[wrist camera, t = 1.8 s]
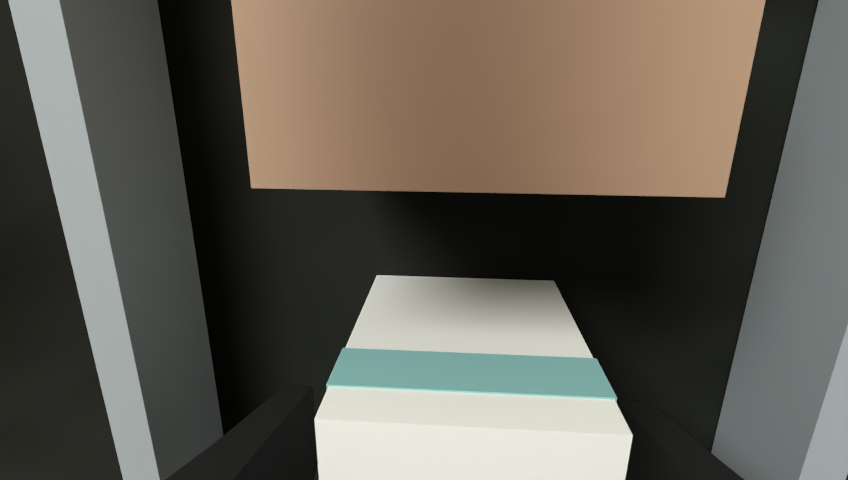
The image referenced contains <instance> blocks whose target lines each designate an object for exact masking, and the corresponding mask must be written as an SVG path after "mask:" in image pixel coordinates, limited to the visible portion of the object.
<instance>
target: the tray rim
mask: <svg viewBox="0 0 848 480" xmlns="http://www.w3.org/2000/svg"><path fill="white" fill-rule="evenodd" d="M9 5H10V9H11V13H12V17H13V21H14V26H15V30H16V34H17V38H18V42H19V46H20V51H21V55H22V59H23V63H24V67H25V71H26V76H27V80H28V84H29V88H30V92H31V97H32V101H33V105H34V109H35V113H36V117H37V122H38V126H39V130H40V134H41V138H42V142H43V147H44V151H45V155H46V159H47V163H48V167H49V172H50V176H51V180H52V184H53V188H54V193H55V197H56V201H57V205H58V209H59V213H60V218H61V222H62V226H63V230H64V234H65V238H66V243H67V247H68V251H69V255H70V259H71V264H72V268H73V272H74V276H75V280H76V284H77V289H78V293H79V297H80V301H81V305H82V309H83V314H84V318H85V322H86V326H87V330H88V335H89V339H90V343H91V347H92V351H93V355H94V360H95V364H96V368H97V372H98V376H99V380H100V385H101V389H102V393H103V397H104V401H105V406H106V410H107V414H108V418H109V422H110V426H111V431H112V435H113V439H114V443H115V447H116V451H117V456H118V460H119V464H120V468H121V472H122V476H123V480H165V479H167V478H168V477H169V476H171V475H172V474H173V473H175V472H176V471H177V470H179V469H180V468H181V467H183V466H184V465H186V464H187V463H188V462H190V461H191V460H192V459H194V458H195V457H196V456H198V455H199V454H200V453H202V452H203V451H204V450H206V449H207V448H208V447H210V446H211V445H212V444H214V443H215V442H216V441H217V440H219V439H220V438H221V437H222V436H223V429H222V422H221V416H220V409H219V403H218V396H217V390H216V383H215V376H214V370H213V363H212V357H211V350H210V343H209V337H208V330H207V324H206V317H205V310H204V304H203V297H202V291H201V284H200V277H199V271H198V264H197V258H196V251H195V245H194V238H193V231H192V225H191V218H190V212H189V205H188V198H187V192H186V185H185V179H184V172H183V165H182V159H181V152H180V146H179V139H178V132H177V126H176V119H175V113H174V106H173V100H172V93H171V86H170V80H169V73H168V67H167V60H166V53H165V47H164V40H163V34H162V27H161V20H160V14H159V7H158V1H157V0H9ZM711 453H712V454H713V455H714V456H716V457H717V458H718V459H719V460H720V461H722V462H723V463H724V464H725V465H727V466H728V467H729V468H730V469H732V470H733V471H734V472H735V473H737V474H738V475H739V476H740V477H742V478H743V479H744V480H845V479H846V477H847V474H848V0H819V1H818V5H817V10H816V14H815V18H814V22H813V26H812V31H811V35H810V39H809V43H808V47H807V52H806V56H805V60H804V64H803V68H802V73H801V77H800V81H799V85H798V89H797V94H796V98H795V102H794V106H793V110H792V115H791V119H790V123H789V127H788V132H787V136H786V140H785V144H784V148H783V153H782V157H781V161H780V165H779V169H778V174H777V178H776V182H775V186H774V190H773V195H772V199H771V203H770V207H769V211H768V216H767V220H766V224H765V228H764V232H763V237H762V241H761V245H760V249H759V254H758V258H757V262H756V266H755V270H754V275H753V279H752V283H751V287H750V291H749V296H748V300H747V304H746V308H745V312H744V317H743V321H742V325H741V329H740V333H739V338H738V342H737V346H736V350H735V354H734V359H733V363H732V367H731V371H730V376H729V380H728V384H727V388H726V392H725V397H724V401H723V405H722V409H721V413H720V418H719V422H718V426H717V430H716V434H715V439H714V443H713V447H712V451H711Z"/></svg>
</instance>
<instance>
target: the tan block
mask: <svg viewBox="0 0 848 480" xmlns="http://www.w3.org/2000/svg"><path fill="white" fill-rule="evenodd" d="M231 4H232V13H233V22H234V32H235V41H236V50H237V60H238V69H239V78H240V87H241V97H242V106H243V115H244V125H245V134H246V143H247V153H248V162H249V171H250V180H251V188H269V189H320V190H370V191H421V192H471V193H522V194H572V195H623V196H673V197H724V198H725V194H726V189H727V185H728V180H729V175H730V170H731V165H732V160H733V156H734V151H735V146H736V141H737V136H738V131H739V126H740V122H741V117H742V112H743V107H744V102H745V97H746V93H747V88H748V83H749V78H750V73H751V68H752V63H753V59H754V54H755V49H756V44H757V39H758V34H759V30H760V25H761V20H762V15H763V10H764V5H765V0H231Z"/></svg>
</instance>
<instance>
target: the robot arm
mask: <svg viewBox="0 0 848 480" xmlns="http://www.w3.org/2000/svg"><path fill="white" fill-rule="evenodd" d="M618 407H619V409H620V411H621V413H622V415H623V417H624V419H625V421H626V423H627V425H628V427H629V429H630V431H631V433H632V435H633V438H632V443H631V449H630V455H629V461H628V466H627V472H626V478H625V480H744V479H743V478H742V477H740V476H739V475H738V474H737V473H735V472H734V471H733V470H732V469H730V468H729V467H728V466H727V465H725V464H724V463H723V462H722V461H720V460H719V459H718V458H717V457H716V456H714V455H713V454H712V453H711V452H709V451H708V450H707V449H706V448H705V447H703V446H702V445H701V444H700V443H699V442H697V441H696V440H695V439H694V438H693V437H691V436H690V435H689V434H688V433H687V432H685V431H684V430H683V429H682V428H681V427H679V426H678V425H677V424H676V423H675V422H673V421H672V420H671V419H670V418H669V417H667V416H666V415H665V414H664V413H662V412H661V411H660V410H659V409H657V408H656V407H655V406H654V405H652V404H651V403H650V402H644V401H622V400H619V402H618ZM314 419H315V416H314V403H313V390H312V386H297V385H285V386H283V387H282V388H281V389H279V390H278V391H277V392H276V393H274V394H273V395H272V396H271V397H270V398H268V399H267V400H266V401H265V402H264V403H262V404H261V405H260V406H259V407H258V408H256V409H255V410H254V411H253V412H252V413H251V414H249V415H248V416H247V417H246V418H245V419H243V420H242V421H241V422H240V423H238V424H237V425H236V426H235V427H233V428H232V429H231V430H230V431H228V432H227V433H226V434H225V435H224V436H222V437H221V438H220V439H219V440H217V441H216V442H215V443H214V444H212V445H211V446H210V447H208V448H207V449H206V450H204V451H203V452H202V453H200V454H199V455H198V456H196V457H195V458H194V459H192V460H191V461H190V462H188V463H187V464H186V465H184V466H183V467H181V468H180V469H179V470H177V471H176V472H175V473H173V474H172V475H171V476H169V477H168V478H167V479H165V480H313V479H314V475H315V472H316V468H317V464H318V460H317V447H316V435H315V422H314Z"/></svg>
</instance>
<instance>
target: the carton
mask: <svg viewBox="0 0 848 480" xmlns="http://www.w3.org/2000/svg"><path fill="white" fill-rule="evenodd" d="M326 387H327V391H326V393H325V396H324V398H323V400H322V403H321V405H320V407H319V409H318V412H317V414H316V416H315V419H314V422H315V435H316V447H317V460H318V473H319V480H625V478H626V472H627V466H628V461H629V455H630V449H631V443H632V438H633V435H632V433H631V431H630V429H629V427H628V425H627V423H626V421H625V419H624V417H623V415H622V413H621V411H620V409H619V407H618V405H617V403H616V402H617V397H616V395H615V393H614V391H613V389H612V387H611V385H610V383H609V381H608V379H607V377H606V376H605V374H604V372H603V370H602V368H601V366H600V364H599V362H598V360H597V358H593V356H592V354H591V352H590V350H589V348H588V347H587V345H586V343H585V341H584V339H583V337H582V335H581V333H580V331H579V329H578V327H577V325H576V323H575V321H574V319H573V317H572V315H571V313H570V311H569V309H568V307H567V305H566V303H565V301H564V300H563V298H562V296H561V294H560V292H559V290H558V288H557V286H556V284H555V282H554V281H547V280H515V279H482V278H450V277H418V276H386V275H377V276H376V278H375V281H374V283H373V285H372V288H371V290H370V292H369V294H368V297H367V299H366V301H365V304H364V306H363V308H362V311H361V313H360V315H359V317H358V320H357V322H356V324H355V327H354V329H353V331H352V334H351V336H350V338H349V340H348V343H347V345H346V347H345V348H342V350H341V353H340V355H339V357H338V359H337V362H336V364H335V366H334V368H333V371H332V373H331V375H330V377H329V380H328V382H327V384H326Z"/></svg>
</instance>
